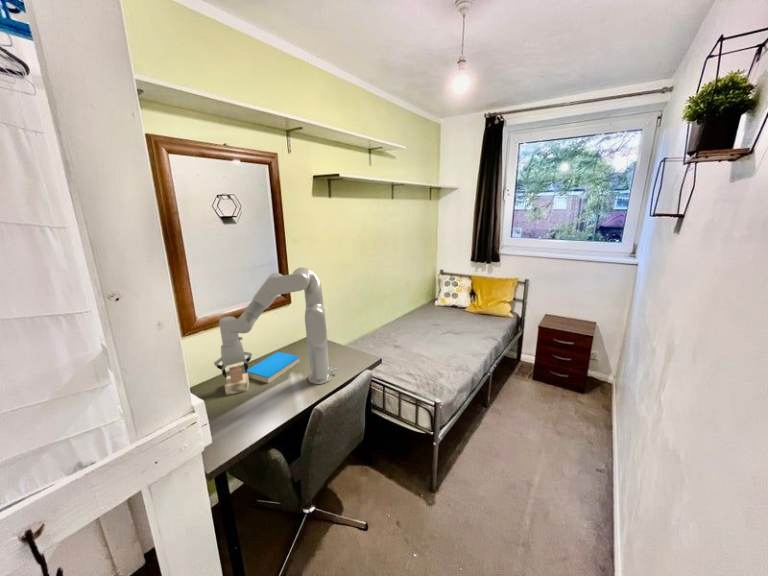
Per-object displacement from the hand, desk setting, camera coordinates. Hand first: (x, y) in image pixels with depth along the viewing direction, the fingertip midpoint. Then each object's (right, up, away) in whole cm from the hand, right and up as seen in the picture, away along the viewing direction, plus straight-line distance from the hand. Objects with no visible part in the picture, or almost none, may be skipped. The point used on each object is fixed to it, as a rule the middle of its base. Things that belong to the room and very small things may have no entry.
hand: (235, 373), depth 161 cm
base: (0, -8, +2) cm, 8 cm away
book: (+12, -3, +20) cm, 24 cm away
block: (0, -3, +1) cm, 3 cm away
